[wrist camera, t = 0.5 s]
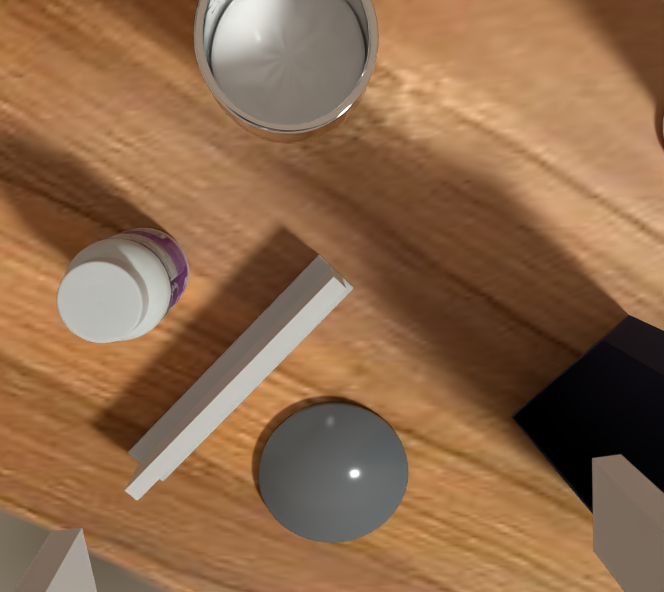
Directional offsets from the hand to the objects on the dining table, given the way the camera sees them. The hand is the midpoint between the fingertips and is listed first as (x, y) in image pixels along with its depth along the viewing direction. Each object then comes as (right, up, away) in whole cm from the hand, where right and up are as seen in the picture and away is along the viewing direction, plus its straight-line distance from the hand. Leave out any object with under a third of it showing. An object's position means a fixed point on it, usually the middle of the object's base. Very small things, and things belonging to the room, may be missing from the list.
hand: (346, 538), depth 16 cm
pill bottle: (-12, +8, +23) cm, 27 cm away
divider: (-6, +1, +24) cm, 25 cm away
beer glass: (-3, +18, +21) cm, 28 cm away
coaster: (0, -6, +26) cm, 27 cm away
